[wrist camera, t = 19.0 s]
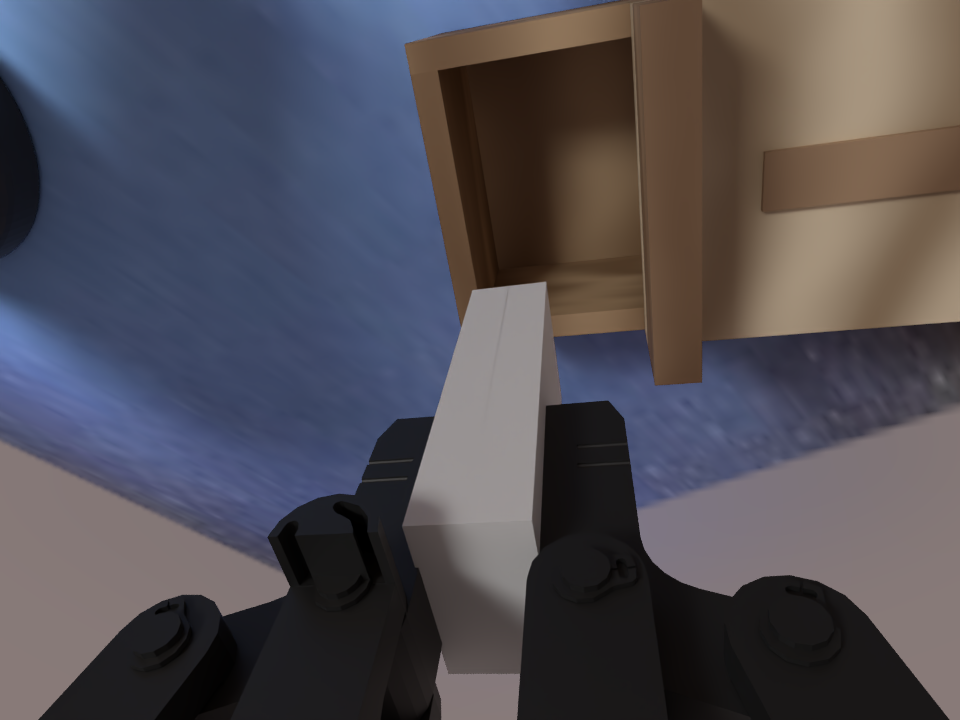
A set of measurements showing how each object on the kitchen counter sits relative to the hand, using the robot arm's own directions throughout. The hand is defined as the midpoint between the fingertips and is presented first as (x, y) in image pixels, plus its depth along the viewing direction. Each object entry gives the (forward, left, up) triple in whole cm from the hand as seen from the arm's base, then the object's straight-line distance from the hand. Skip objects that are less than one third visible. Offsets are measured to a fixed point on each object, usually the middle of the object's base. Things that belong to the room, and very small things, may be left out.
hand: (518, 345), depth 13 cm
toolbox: (+5, 0, -20) cm, 20 cm away
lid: (+12, 0, -13) cm, 17 cm away
